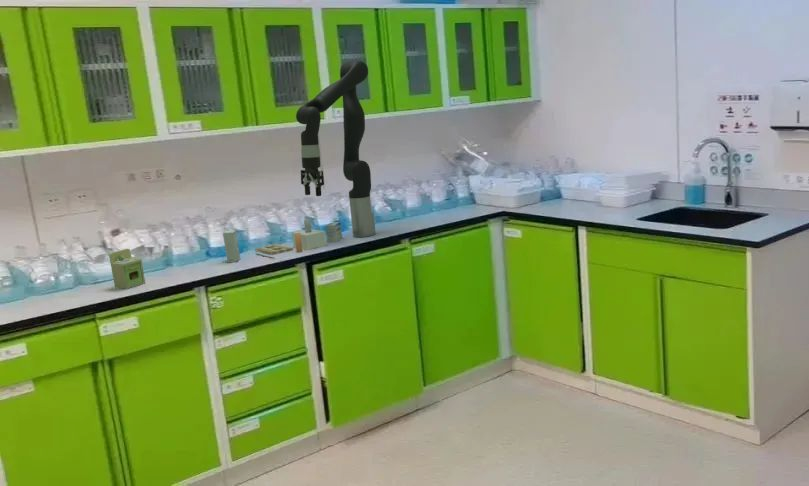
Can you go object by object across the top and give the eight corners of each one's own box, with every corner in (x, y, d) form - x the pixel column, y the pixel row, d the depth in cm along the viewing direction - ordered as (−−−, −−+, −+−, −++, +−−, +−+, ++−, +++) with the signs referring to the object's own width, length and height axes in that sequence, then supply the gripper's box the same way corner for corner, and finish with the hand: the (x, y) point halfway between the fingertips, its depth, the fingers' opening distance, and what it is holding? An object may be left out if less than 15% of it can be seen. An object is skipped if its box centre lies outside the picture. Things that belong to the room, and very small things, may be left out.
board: (313, 245, 322) (311, 233, 321) (328, 249, 313) (326, 235, 312) (292, 250, 316) (291, 237, 315) (307, 253, 307) (306, 240, 306)
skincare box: (237, 261, 304) (233, 232, 301) (226, 262, 304) (222, 233, 301) (240, 258, 310) (236, 229, 307) (229, 259, 310) (225, 230, 307)
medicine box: (337, 245, 319) (335, 225, 317) (327, 245, 320) (325, 225, 318) (342, 241, 327) (340, 221, 325) (332, 241, 327) (330, 222, 326)
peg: (301, 254, 308) (298, 232, 306) (304, 254, 306) (301, 233, 304) (295, 255, 306) (293, 233, 304) (298, 256, 304) (296, 234, 303)
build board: (276, 249, 321) (276, 243, 320) (293, 253, 310) (293, 247, 309) (255, 254, 315) (254, 248, 314) (272, 258, 304) (271, 252, 303)
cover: (312, 242, 321) (309, 217, 319) (326, 245, 313) (323, 219, 311) (293, 246, 316) (290, 220, 314) (307, 249, 307) (304, 223, 305)
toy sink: (126, 289, 273) (120, 254, 270) (114, 288, 277) (108, 253, 275) (146, 283, 280) (141, 248, 277) (134, 282, 284) (128, 247, 281)
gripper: (327, 155, 308) (330, 195, 311) (309, 155, 319) (311, 193, 322) (312, 157, 304) (314, 197, 306) (293, 156, 315) (296, 195, 317)
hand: (313, 195), depth 314 cm, fingers open, 8 cm apart
